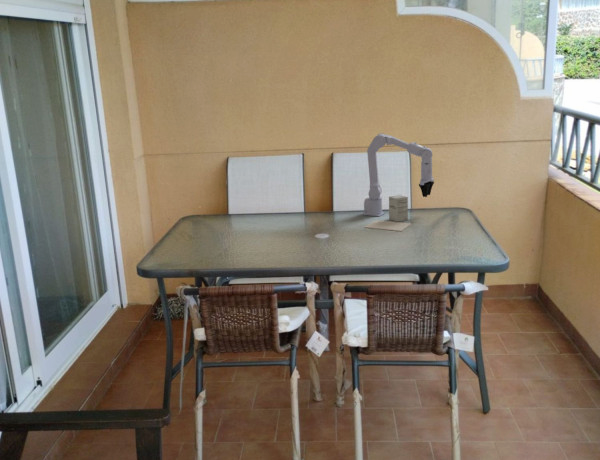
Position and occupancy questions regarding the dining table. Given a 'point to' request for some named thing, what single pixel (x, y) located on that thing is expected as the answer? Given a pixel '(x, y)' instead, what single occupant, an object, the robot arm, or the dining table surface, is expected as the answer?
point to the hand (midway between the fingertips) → (426, 195)
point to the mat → (388, 225)
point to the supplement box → (398, 208)
